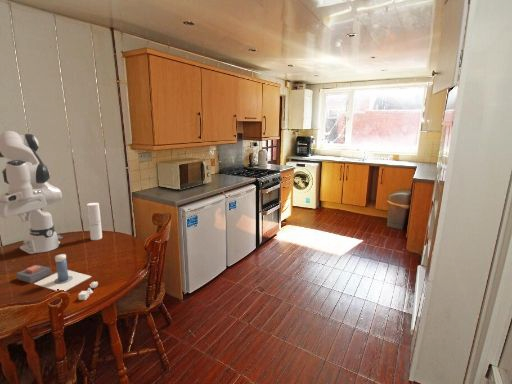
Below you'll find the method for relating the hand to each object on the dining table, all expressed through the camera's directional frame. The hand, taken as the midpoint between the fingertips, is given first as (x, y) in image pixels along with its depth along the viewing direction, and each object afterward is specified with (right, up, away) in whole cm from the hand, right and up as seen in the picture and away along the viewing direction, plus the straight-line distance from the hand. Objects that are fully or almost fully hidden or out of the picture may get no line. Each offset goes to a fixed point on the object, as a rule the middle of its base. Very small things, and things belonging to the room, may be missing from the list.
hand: (25, 221), depth 141 cm
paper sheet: (+16, -31, +4) cm, 35 cm away
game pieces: (+35, -34, -6) cm, 49 cm away
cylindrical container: (+2, -18, +59) cm, 61 cm away
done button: (-1, -28, +6) cm, 29 cm away
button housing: (-1, -30, +7) cm, 31 cm away
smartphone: (-29, -18, +59) cm, 68 cm away
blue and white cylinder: (+16, -30, +4) cm, 35 cm away
